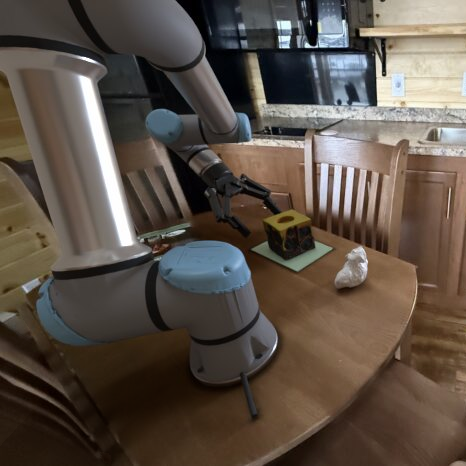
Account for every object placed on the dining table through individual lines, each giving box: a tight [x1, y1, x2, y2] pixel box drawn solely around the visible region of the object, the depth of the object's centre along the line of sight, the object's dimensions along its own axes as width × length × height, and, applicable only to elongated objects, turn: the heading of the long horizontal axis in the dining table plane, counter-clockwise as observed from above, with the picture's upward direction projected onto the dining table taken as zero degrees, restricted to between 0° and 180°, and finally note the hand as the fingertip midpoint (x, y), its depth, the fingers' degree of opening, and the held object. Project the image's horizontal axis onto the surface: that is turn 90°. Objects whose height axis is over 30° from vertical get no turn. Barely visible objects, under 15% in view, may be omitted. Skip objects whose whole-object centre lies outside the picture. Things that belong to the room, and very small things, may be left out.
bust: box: [334, 245, 369, 290], centre depth 79 cm, size 12×8×11 cm
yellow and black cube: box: [262, 209, 316, 260], centre depth 92 cm, size 10×10×10 cm
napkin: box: [250, 240, 334, 273], centre depth 94 cm, size 20×14×1 cm
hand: (265, 224), depth 93 cm, fingers open, 13 cm apart
